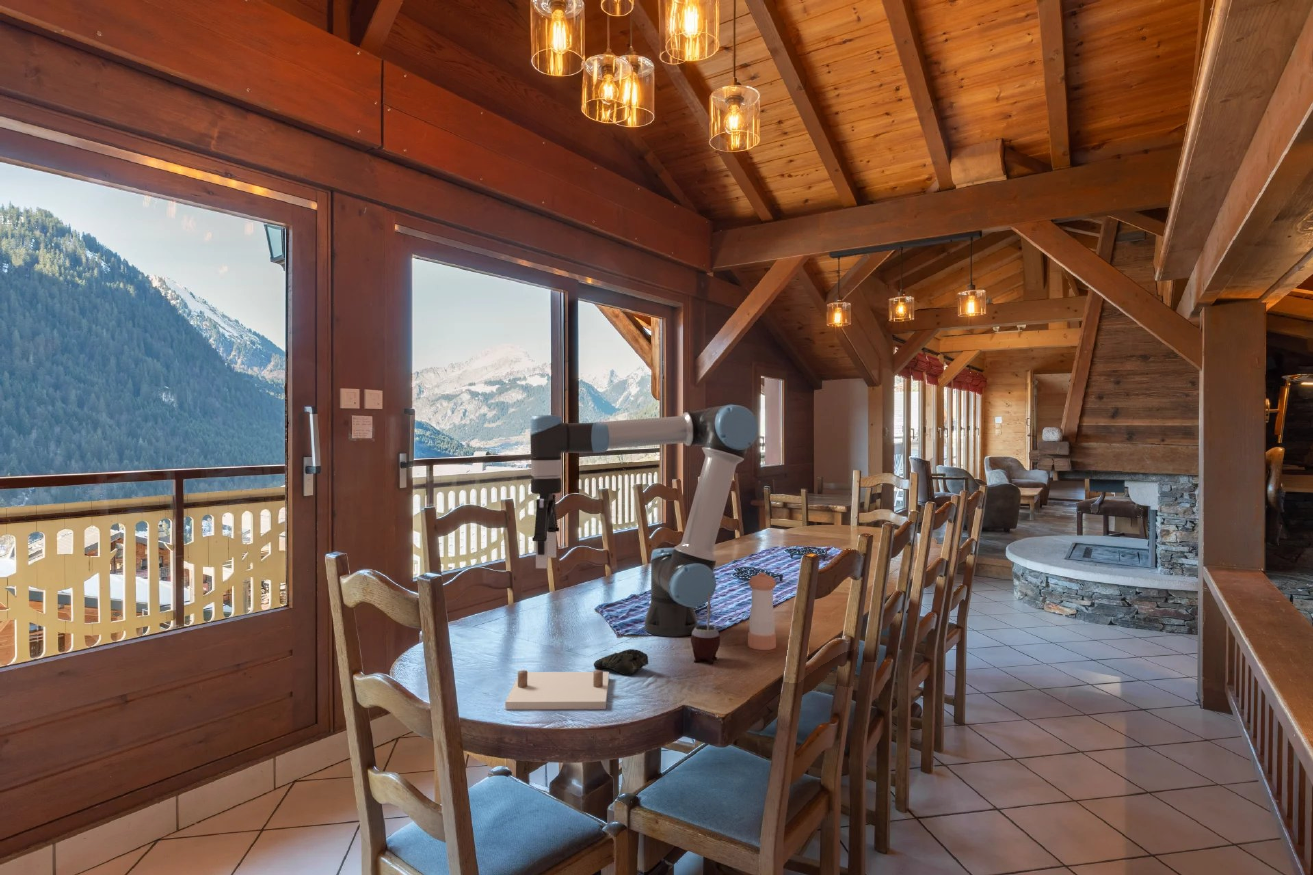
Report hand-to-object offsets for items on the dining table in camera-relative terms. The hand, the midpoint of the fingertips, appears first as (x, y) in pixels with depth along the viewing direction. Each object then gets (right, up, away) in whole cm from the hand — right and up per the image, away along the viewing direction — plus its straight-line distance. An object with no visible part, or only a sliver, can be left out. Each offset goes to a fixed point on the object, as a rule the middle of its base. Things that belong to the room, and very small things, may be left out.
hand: (546, 562), depth 169 cm
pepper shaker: (+55, -24, +9) cm, 60 cm away
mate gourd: (+39, -24, -2) cm, 46 cm away
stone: (+19, -24, -10) cm, 32 cm away
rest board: (+7, -23, -24) cm, 34 cm away
